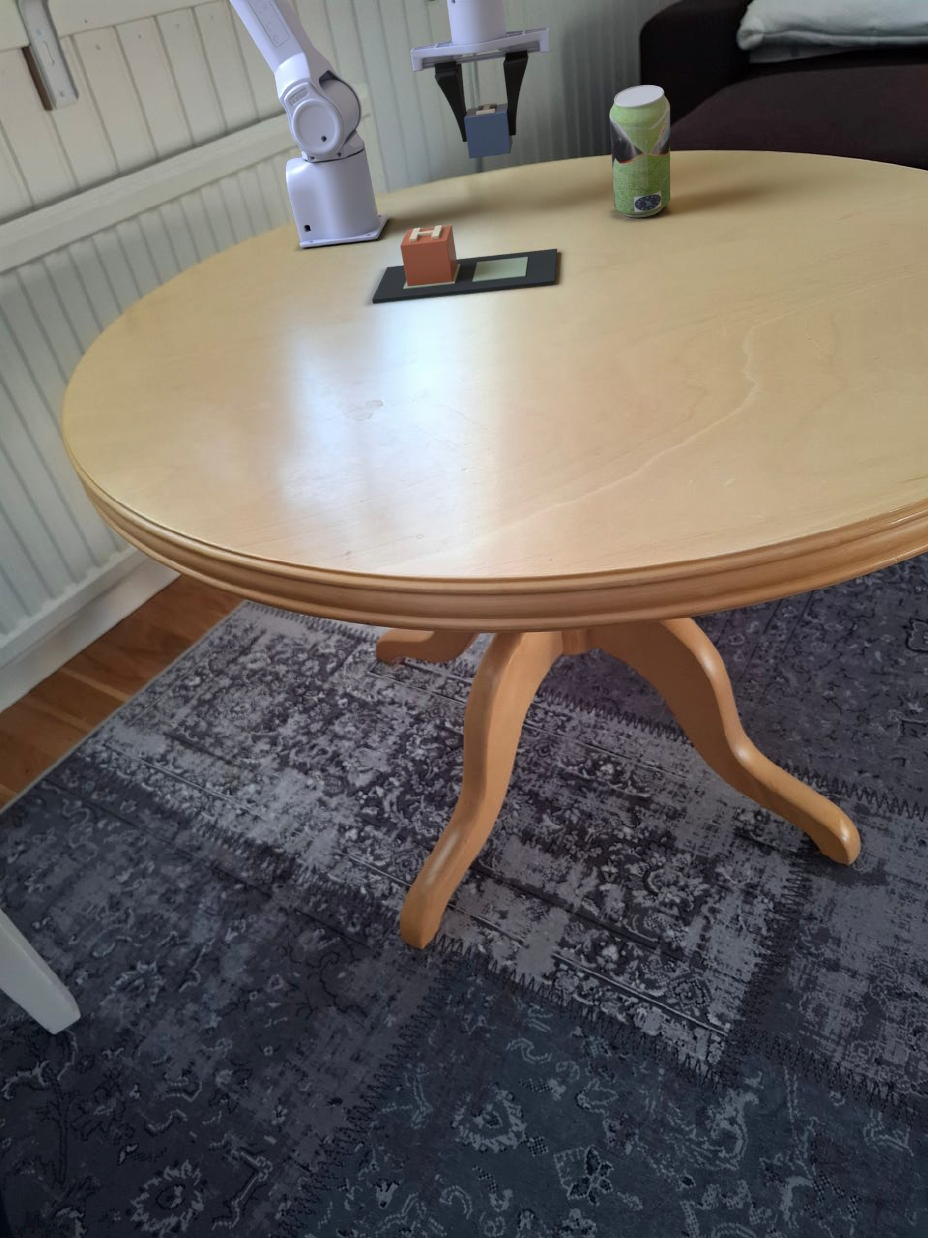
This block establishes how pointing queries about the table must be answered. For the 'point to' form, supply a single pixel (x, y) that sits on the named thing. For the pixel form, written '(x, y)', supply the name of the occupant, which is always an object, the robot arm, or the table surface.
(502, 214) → the table surface
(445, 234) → the red letter block
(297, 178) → the robot arm
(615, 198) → the beverage can
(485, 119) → the blue cube
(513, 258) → the word mat
